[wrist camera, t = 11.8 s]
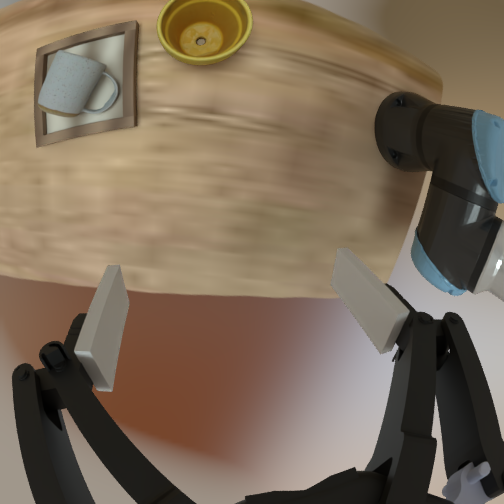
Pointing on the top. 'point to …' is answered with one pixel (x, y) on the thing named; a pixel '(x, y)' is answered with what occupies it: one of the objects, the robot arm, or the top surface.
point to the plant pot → (204, 29)
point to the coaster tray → (118, 66)
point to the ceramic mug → (72, 85)
